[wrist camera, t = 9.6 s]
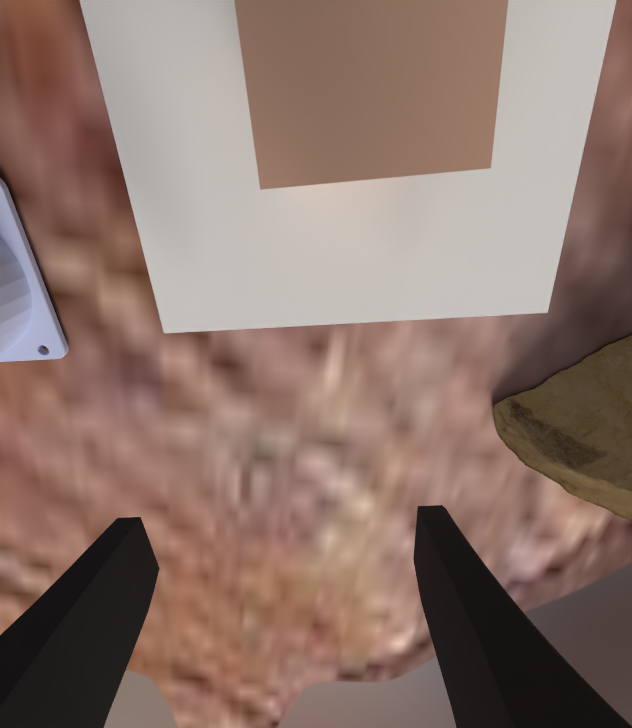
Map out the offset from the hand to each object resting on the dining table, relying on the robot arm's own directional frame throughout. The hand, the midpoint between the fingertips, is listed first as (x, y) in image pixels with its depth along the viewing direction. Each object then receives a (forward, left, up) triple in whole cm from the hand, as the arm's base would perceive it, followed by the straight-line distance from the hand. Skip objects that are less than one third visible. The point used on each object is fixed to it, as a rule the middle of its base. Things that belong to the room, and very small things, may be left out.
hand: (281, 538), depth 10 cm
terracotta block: (+2, +11, -7) cm, 13 cm away
